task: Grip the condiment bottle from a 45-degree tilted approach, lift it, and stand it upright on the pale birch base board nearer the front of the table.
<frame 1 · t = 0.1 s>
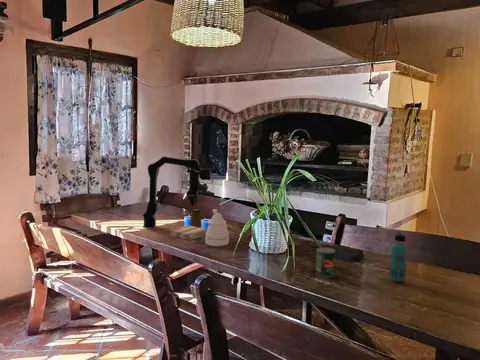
hand: (194, 204, 258), 15 cm above the table, tool pointing down, fingers open, 9 cm apart
beverage bottle: (396, 282, 174), on the table
base board: (189, 234, 243), on the table
honey pot: (217, 243, 228), on the table
condiment: (196, 229, 257), on the table
canned tomato: (324, 274, 182), on the table
dark slate chunk: (340, 256, 210), on the table
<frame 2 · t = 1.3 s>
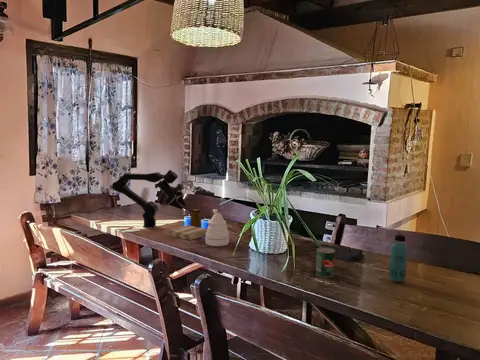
hand: (183, 207, 256), 13 cm above the table, tool tilted 45°, fingers open, 9 cm apart
nothing on the table moved.
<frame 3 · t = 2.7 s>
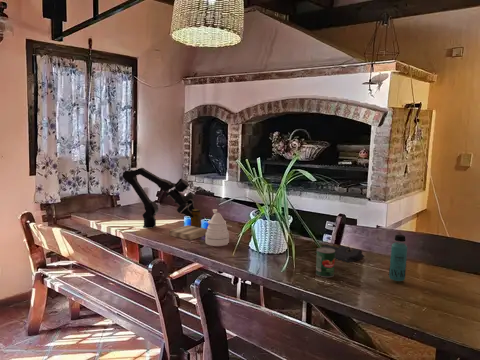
hand: (195, 215, 256), 8 cm above the table, tool tilted 45°, fingers open, 9 cm apart
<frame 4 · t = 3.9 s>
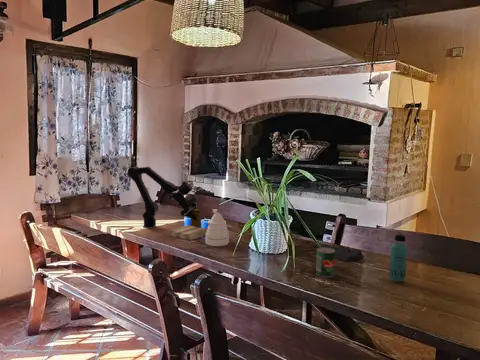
hand: (198, 218, 256), 7 cm above the table, tool tilted 45°, fingers open, 7 cm apart
condiment: (196, 229, 257), on the table, touching gripper
everything else where it was.
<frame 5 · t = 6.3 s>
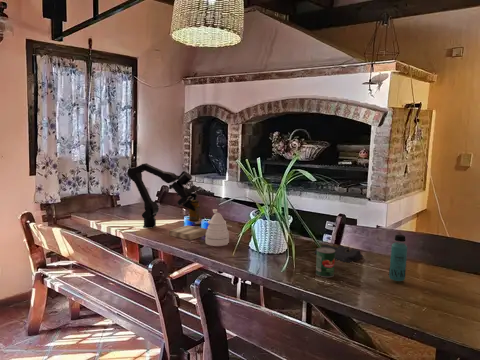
hand: (197, 209, 250), 13 cm above the table, tool tilted 45°, fingers closed on condiment, 6 cm apart
condiment: (194, 220, 250), point 6 cm above the table, touching gripper
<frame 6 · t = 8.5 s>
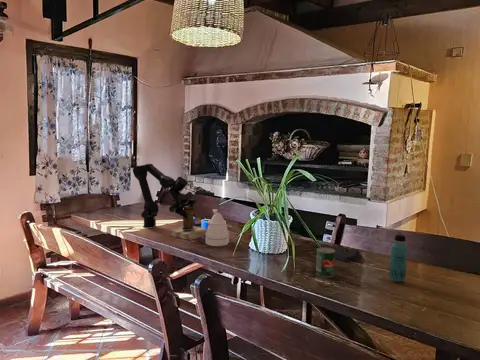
hand: (190, 217, 241), 11 cm above the table, tool tilted 45°, fingers closed on condiment, 6 cm apart
condiment: (188, 228, 242), point 4 cm above the table, touching gripper
when the fingers open (11 cm above the table, at t = 8.5 s): condiment drops 1 cm, resting on base board.
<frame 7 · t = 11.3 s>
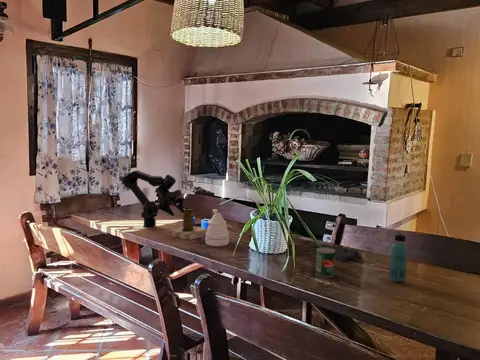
hand: (178, 214, 246), 11 cm above the table, tool tilted 45°, fingers open, 9 cm apart
condiment: (188, 230, 242), point 3 cm above the table, touching base board
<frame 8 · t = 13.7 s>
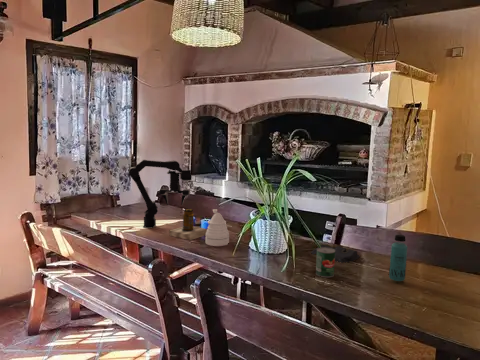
hand: (174, 205, 264), 13 cm above the table, tool pointing down, fingers open, 9 cm apart
at the end: condiment inside the target area on the base board (0.6 cm from its centre), point 2.8 cm above the base board's base; condiment tilted 0°; the gripper is holding nothing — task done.
